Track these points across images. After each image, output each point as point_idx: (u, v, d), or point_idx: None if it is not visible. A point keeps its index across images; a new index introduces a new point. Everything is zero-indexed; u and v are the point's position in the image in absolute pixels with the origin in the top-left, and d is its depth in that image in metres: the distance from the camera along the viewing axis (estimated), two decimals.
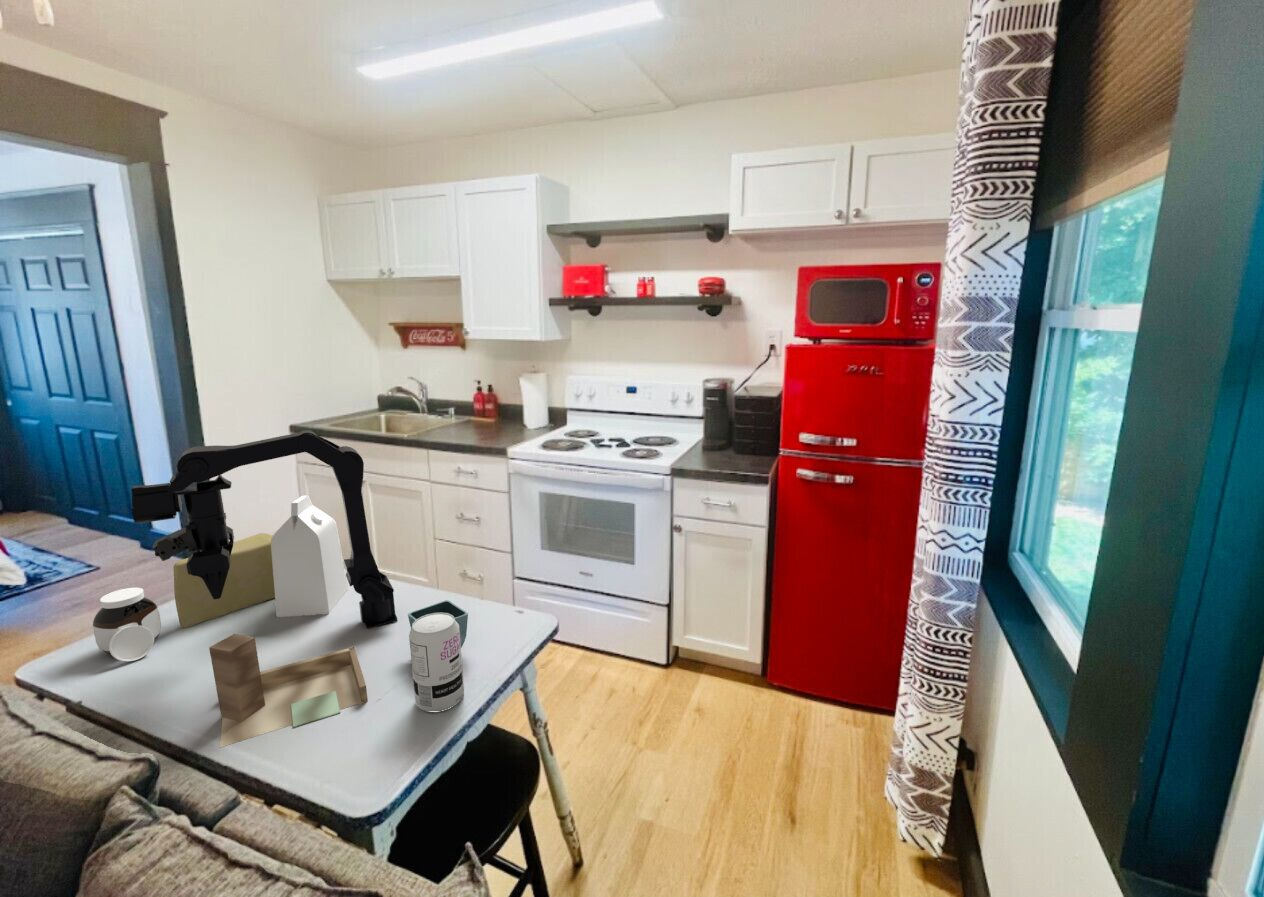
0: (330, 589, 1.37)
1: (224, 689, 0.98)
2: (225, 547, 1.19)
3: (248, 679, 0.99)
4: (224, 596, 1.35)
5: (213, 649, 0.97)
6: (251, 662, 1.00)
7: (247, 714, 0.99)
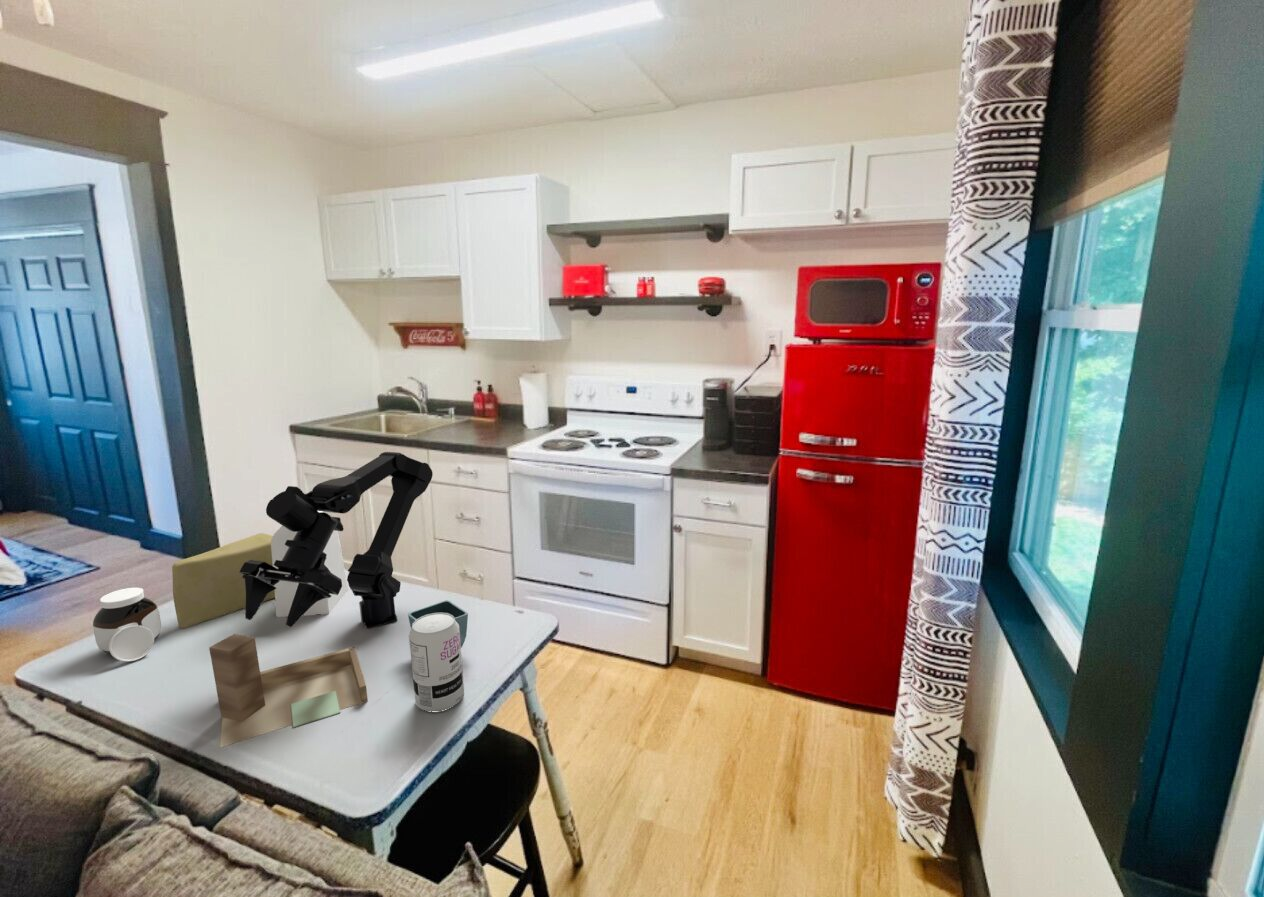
0: None
1: (224, 689, 0.98)
2: None
3: (248, 679, 0.99)
4: (223, 596, 1.35)
5: (213, 649, 0.97)
6: (251, 662, 1.00)
7: (247, 714, 0.99)
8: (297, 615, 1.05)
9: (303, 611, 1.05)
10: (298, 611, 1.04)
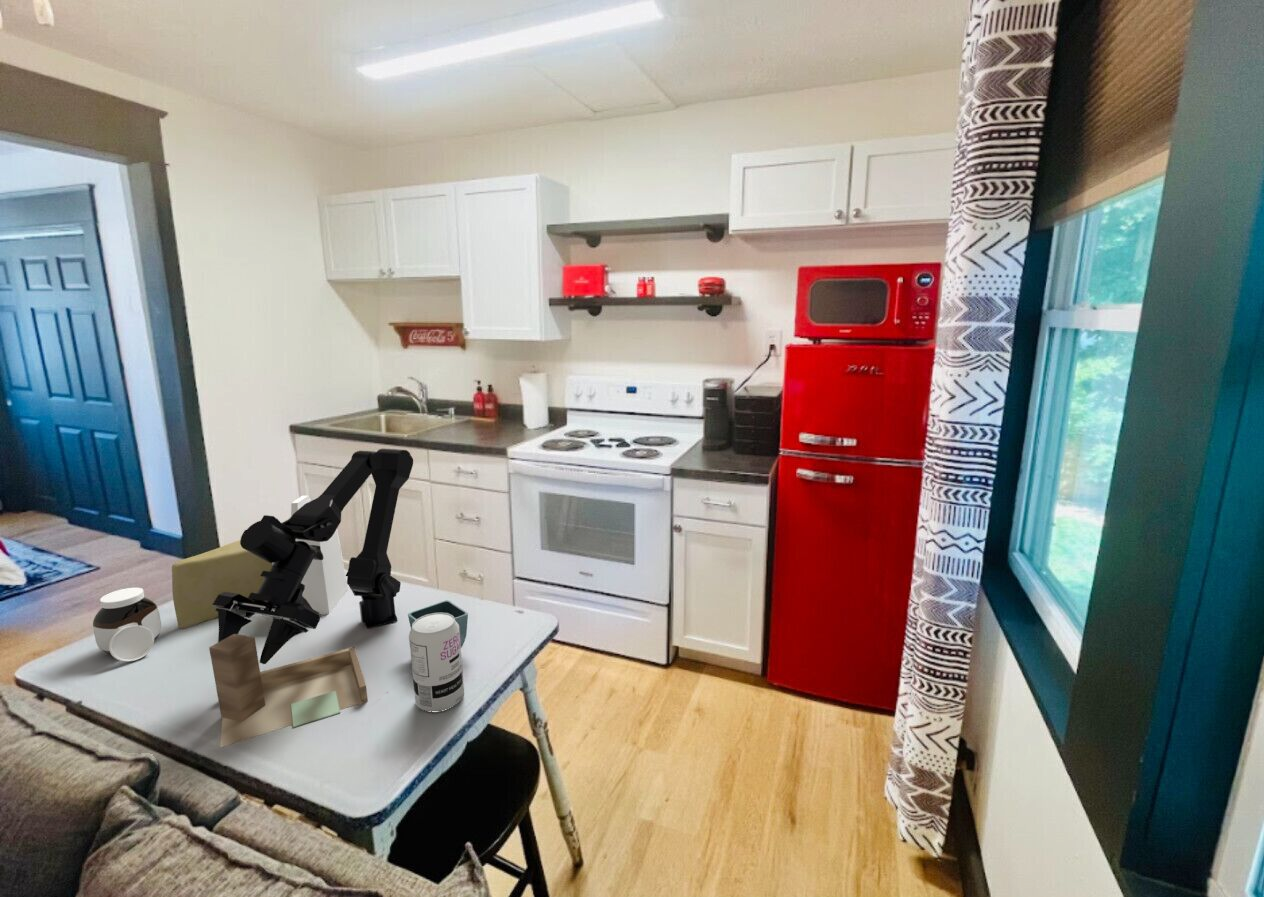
0: (330, 589, 1.37)
1: (224, 689, 0.98)
2: None
3: (248, 679, 0.99)
4: None
5: (213, 649, 0.97)
6: (251, 662, 1.00)
7: (247, 714, 0.99)
8: (271, 651, 1.00)
9: (278, 647, 1.01)
10: (273, 647, 1.00)
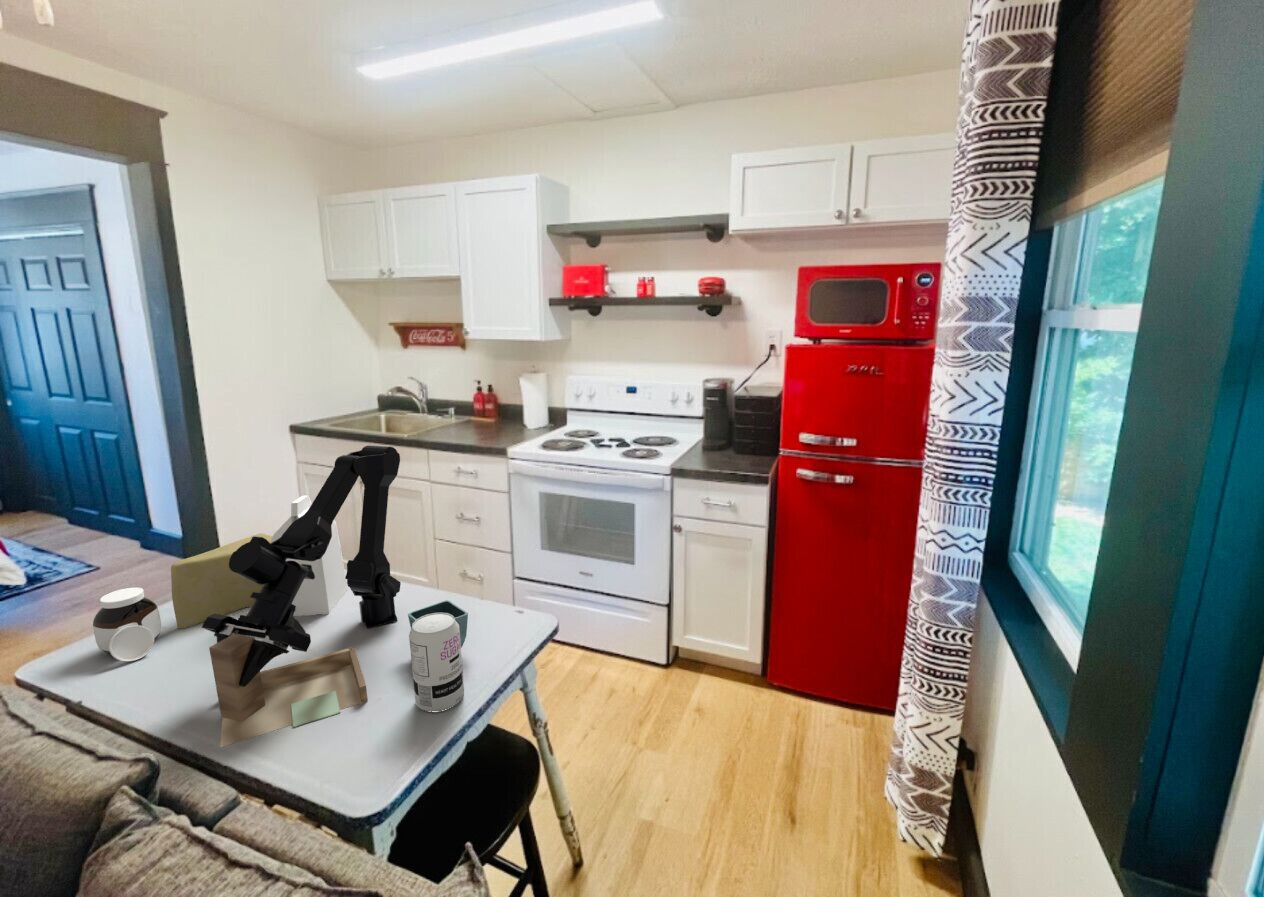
0: (330, 589, 1.37)
1: (224, 689, 0.98)
2: None
3: None
4: (221, 597, 1.35)
5: (213, 649, 0.97)
6: None
7: (247, 714, 0.99)
8: (251, 674, 0.99)
9: (258, 669, 1.00)
10: (252, 669, 0.99)
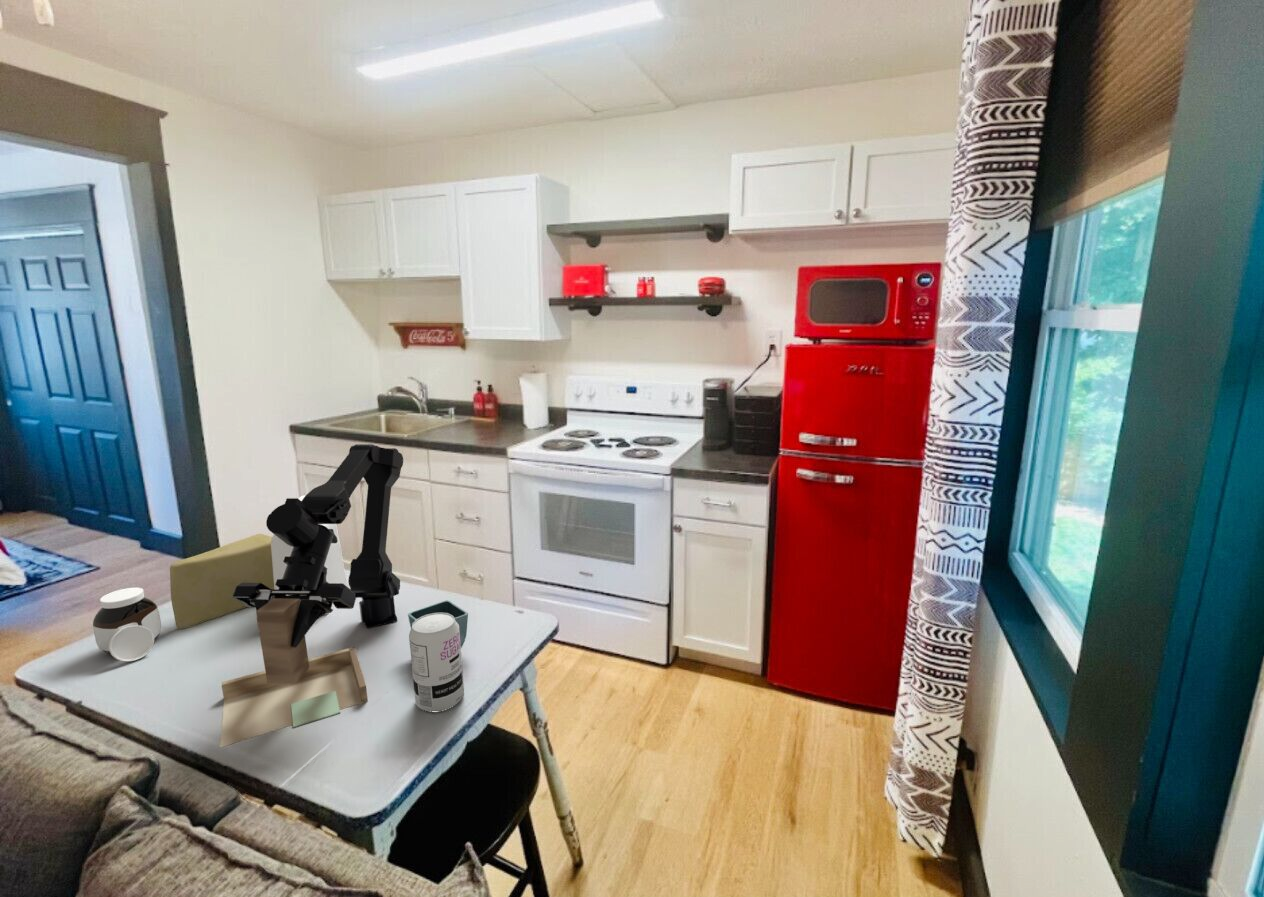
0: None
1: (273, 652, 0.96)
2: None
3: None
4: (221, 597, 1.34)
5: (261, 612, 0.95)
6: None
7: (297, 675, 0.99)
8: (301, 634, 0.98)
9: (307, 629, 0.99)
10: (302, 630, 0.98)
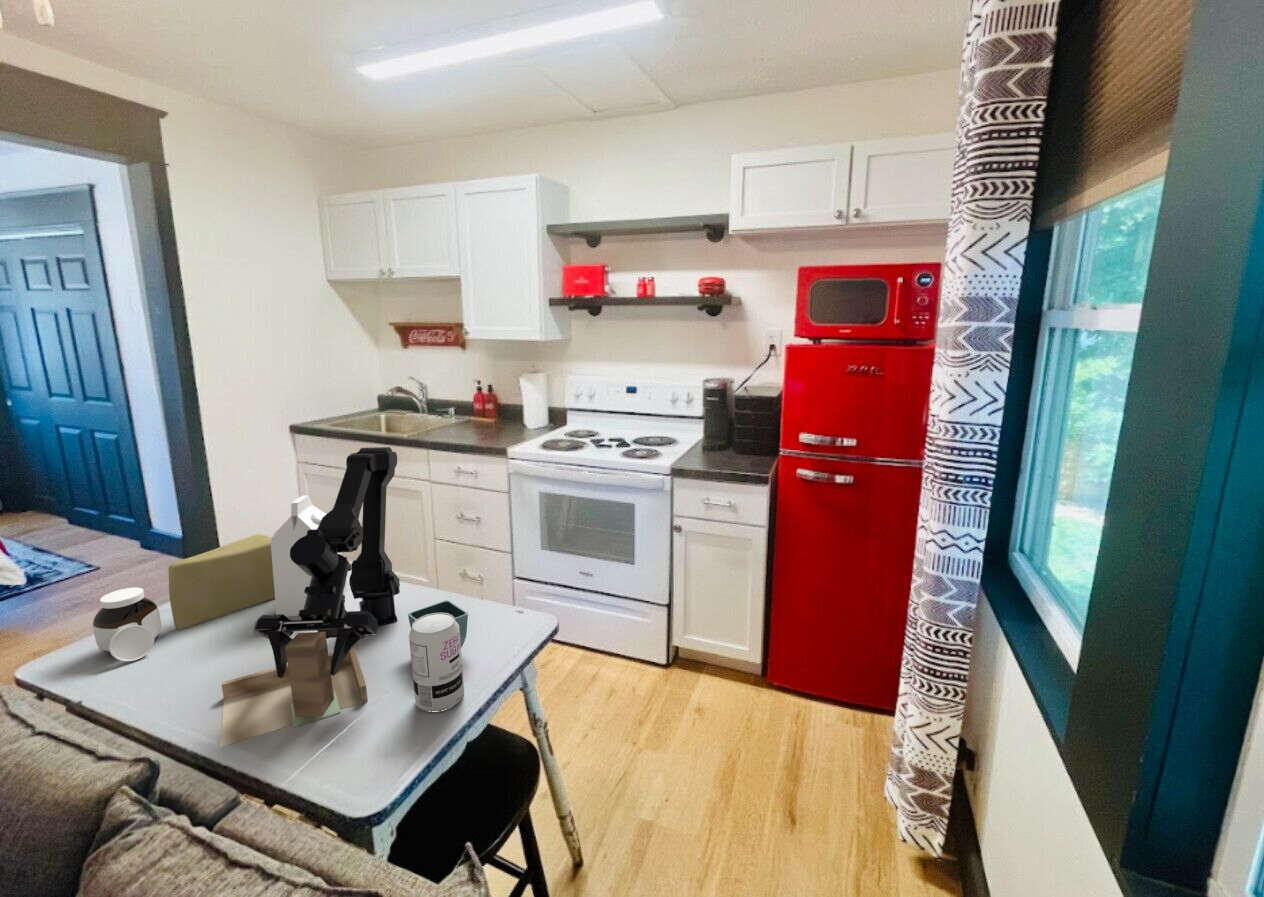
0: None
1: (302, 686, 0.98)
2: None
3: (324, 673, 1.00)
4: (219, 598, 1.34)
5: (291, 648, 0.97)
6: (325, 656, 1.01)
7: (325, 707, 1.01)
8: (339, 662, 1.00)
9: (343, 657, 1.01)
10: (340, 658, 1.00)
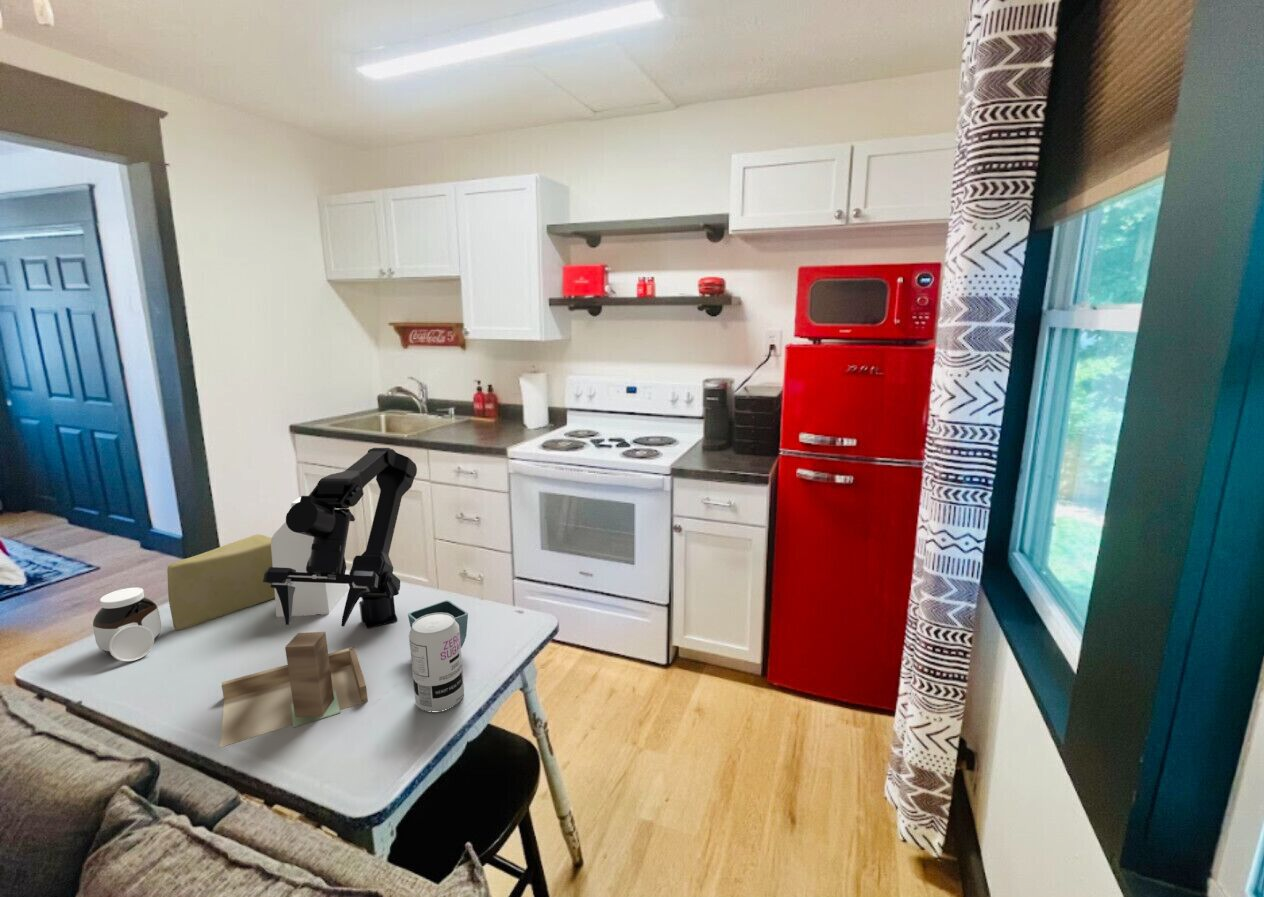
0: (330, 589, 1.37)
1: (302, 686, 0.98)
2: None
3: (324, 673, 1.00)
4: (218, 598, 1.34)
5: (290, 648, 0.97)
6: (324, 656, 1.01)
7: (325, 707, 1.01)
8: (348, 615, 1.11)
9: (351, 610, 1.12)
10: (350, 611, 1.11)
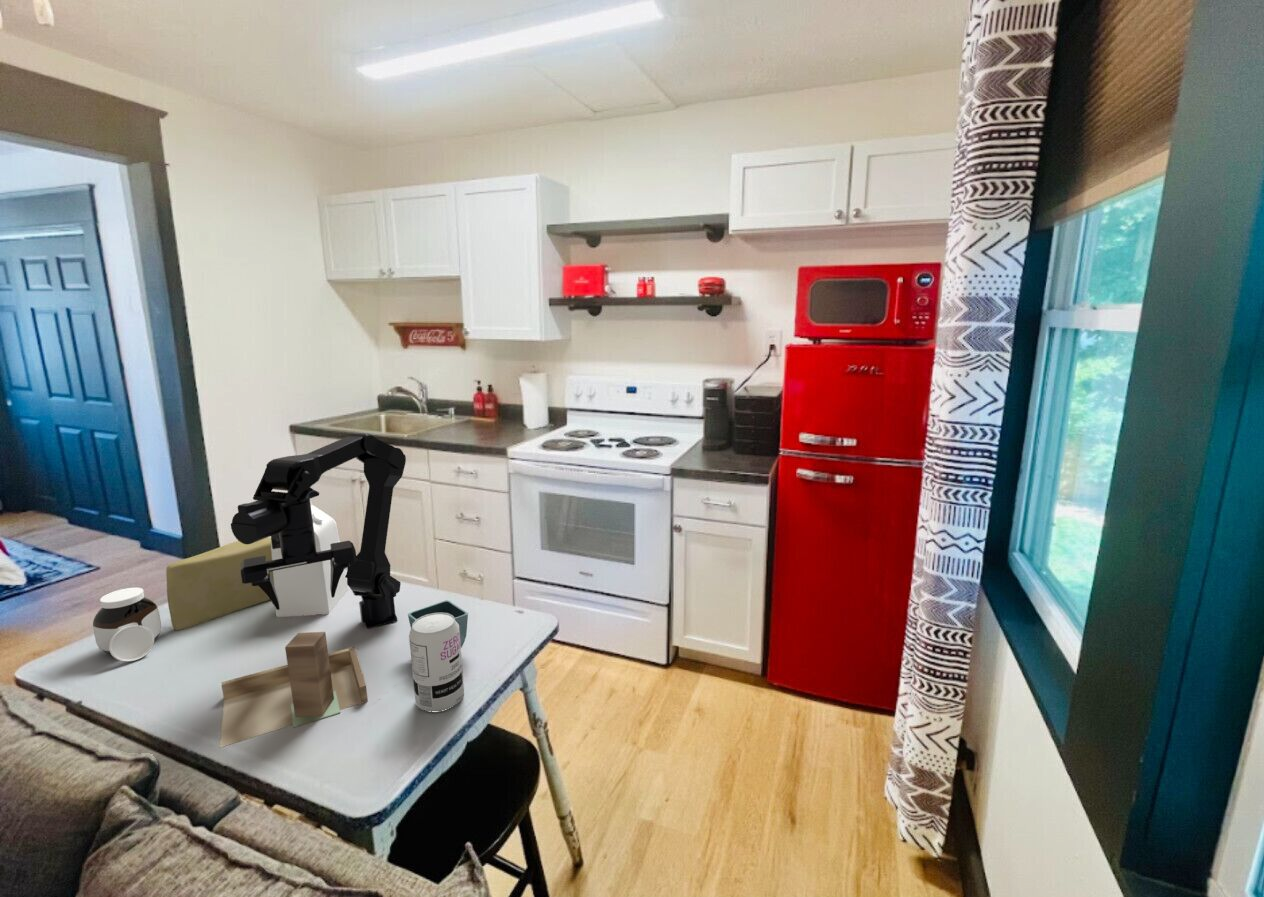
0: None
1: (302, 686, 0.98)
2: (332, 567, 1.13)
3: (324, 673, 1.00)
4: (217, 599, 1.34)
5: (290, 648, 0.97)
6: (324, 656, 1.01)
7: (325, 707, 1.01)
8: None
9: None
10: None
